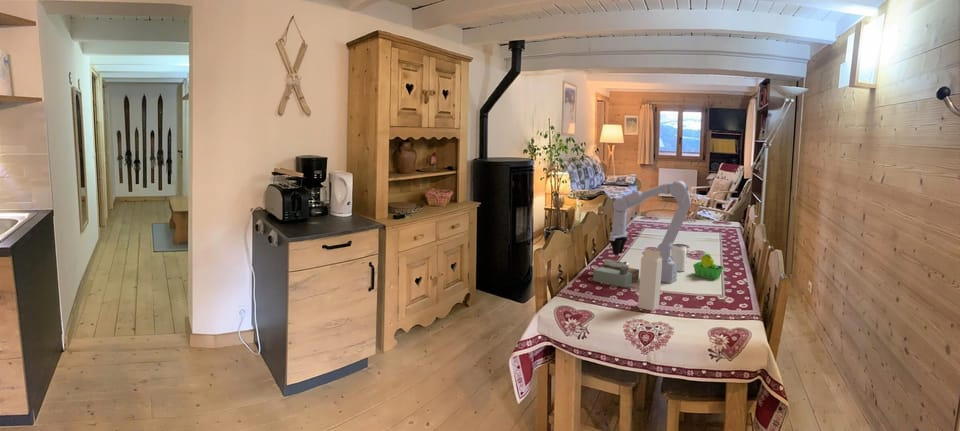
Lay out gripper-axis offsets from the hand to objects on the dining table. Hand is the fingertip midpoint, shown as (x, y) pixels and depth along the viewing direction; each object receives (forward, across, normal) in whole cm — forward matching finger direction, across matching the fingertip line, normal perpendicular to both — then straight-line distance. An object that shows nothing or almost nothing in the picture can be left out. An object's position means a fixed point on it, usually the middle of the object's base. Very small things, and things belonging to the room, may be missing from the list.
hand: (617, 253), depth 251 cm
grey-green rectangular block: (+9, +14, +4) cm, 17 cm away
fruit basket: (+10, -23, +33) cm, 41 cm away
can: (+10, -25, +19) cm, 33 cm away
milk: (+10, +34, +29) cm, 46 cm away
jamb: (+9, +7, +4) cm, 12 cm away
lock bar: (+4, +7, +3) cm, 8 cm away
